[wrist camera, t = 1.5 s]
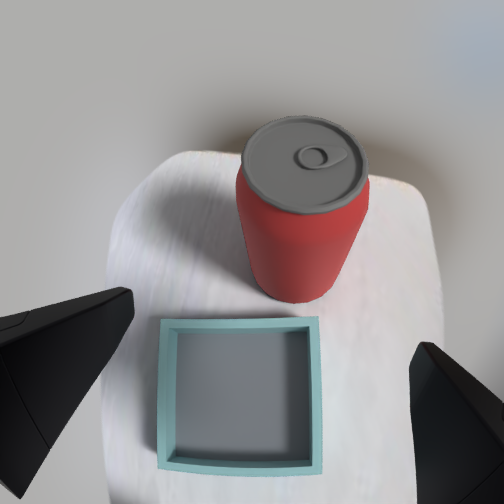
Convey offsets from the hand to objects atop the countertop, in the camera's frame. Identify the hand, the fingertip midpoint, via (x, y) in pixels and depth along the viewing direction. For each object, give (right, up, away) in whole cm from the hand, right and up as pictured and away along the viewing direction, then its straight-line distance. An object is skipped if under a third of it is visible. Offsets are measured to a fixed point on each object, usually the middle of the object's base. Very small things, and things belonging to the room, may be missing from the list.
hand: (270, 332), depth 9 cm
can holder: (-1, -8, +11) cm, 14 cm away
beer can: (+3, +1, +15) cm, 15 cm away
